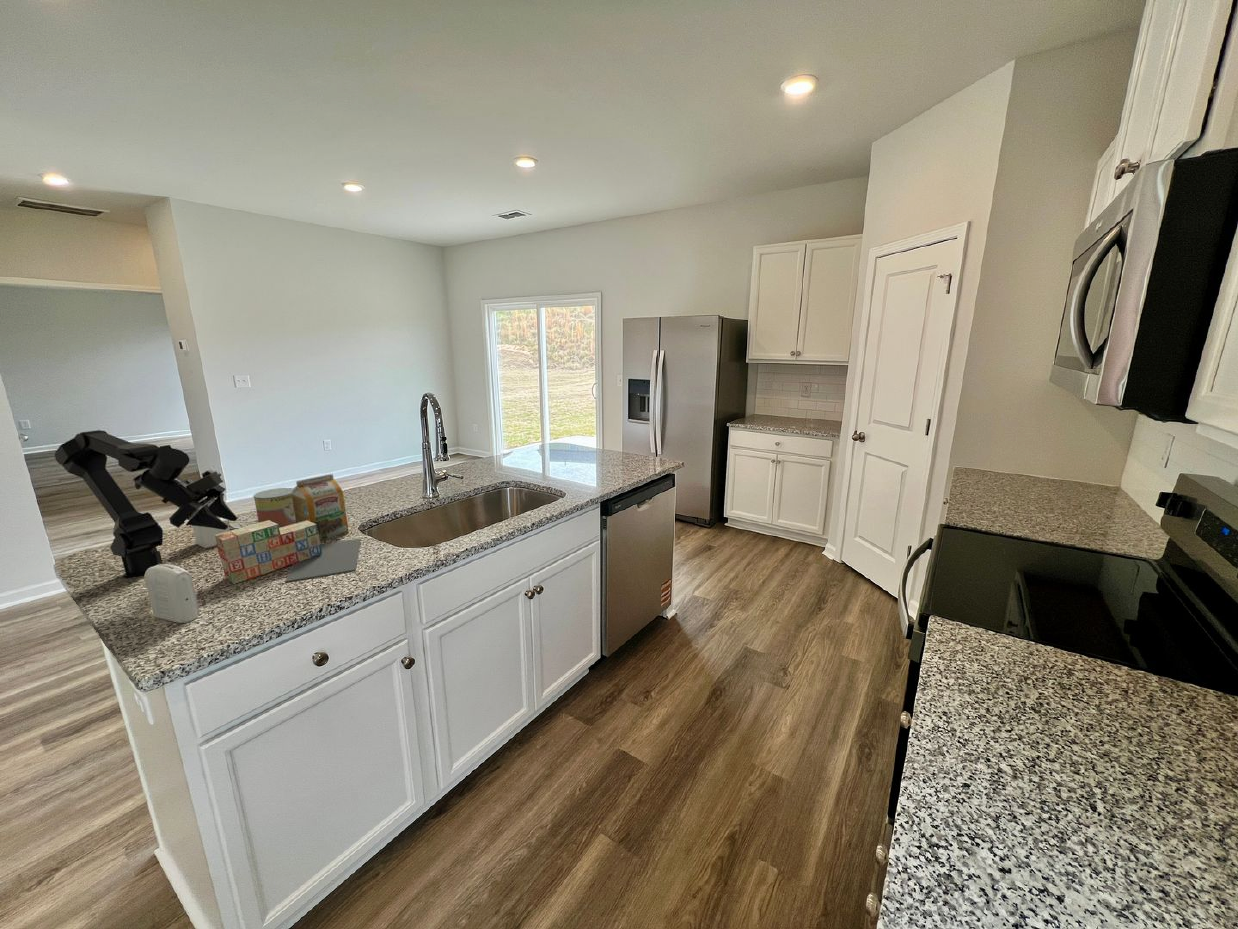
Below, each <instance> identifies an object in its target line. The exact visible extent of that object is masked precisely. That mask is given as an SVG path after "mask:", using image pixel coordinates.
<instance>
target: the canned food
mask: <svg viewBox="0 0 1238 929" xmlns="http://www.w3.org/2000/svg"><path fill="white" fill-rule="evenodd" d="M293 489H294V488H292V487H280V488H279V487H277V488H272V489H266V490H263V491H259V492H257V493H255V494H253V499H254V504H255V510H256V516H257V521H258V523H260V522H264V521H268V520H270V521H272V522H274V523H276V524H278V526H279V528H281V527H285V526H289V525H292V524H296V518H295V512H294V506H293V500H292V495H291V494H292V491H293Z"/></svg>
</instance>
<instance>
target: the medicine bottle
mask: <svg viewBox="0 0 1238 929" xmlns="http://www.w3.org/2000/svg"><path fill="white" fill-rule="evenodd" d="M216 517H217V516H216ZM217 518H219V519H220V520H221V521H223V522H224V523H225V524H226V525H228V528H227V529H225V530H223V529H216V528H210V527H202V526H193V525H191V528H192V531H193V536H194V541H195V543H196V545H198V546H200V547H202V548H204V549H208V548H211V547H215V546H218V545H217V541H216V538H215V535H216V534H220V533H223V532H227V531H231V530H232V529H231V524H230V520H227V519H223V518H220V517H217Z"/></svg>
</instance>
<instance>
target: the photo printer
mask: <svg viewBox="0 0 1238 929" xmlns="http://www.w3.org/2000/svg"><path fill="white" fill-rule="evenodd" d="M143 576H144V582H145V586H146V589H147V593H148V598H149V602H150V606H151V610H152V614H153V616H154V617H155V618H158V619H162V620H165V621H169V622H173V623H179V624H180V623H181V624H183V623H185V624H186V623H189V622H192V621H194V620H195V619H197V618H198V616H200V609H199V605H198V604H199V603H198V598H197V594H196V588H195V585H194V581H193V577H192V575H191V574H190V572H189V571H187V570H186V569H184V568H182V567H179V566H177V565H174V564H168V563H166V564H165V563H163V564H160V565H156V566H153V567H150V568H148V569H147V571H146V572H145V575H143Z"/></svg>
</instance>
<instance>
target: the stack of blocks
mask: <svg viewBox="0 0 1238 929" xmlns="http://www.w3.org/2000/svg"><path fill="white" fill-rule="evenodd" d="M215 538H216V541H217V545H216V546H217V547H216V548H217V552H218V555H219V557H220V560H221V565H222V568H223V572H224V576H225V579H227V581H229V582H230V583H232V584H233V585H234V584H237V583H241V582H243V581H246V580H250V579H253V578H257V577H259V576H261V575H262V576H263V575H265V574H268V573H272V572H274V571H276V570H278V569H282V568H285V567H287V566H292V565H293V564H294V563H297V562H300V561H303V560H306V559H309V558H312V557H315V556H318V555H321V554H322V549H321V544H322V543H321V542H320V538H319V534H318V530H317V525H316V524H314V523H312V522H310V521H303V522H300V523H297V524H292V525H289V526H285V527H281V528H279V526H278V524H276V523H274V522H272V521H270V520H268V521H264V522H260V523H259V522H257V523H254V524H249V525H247V526H243V527H239V528H236V529H231V531H227V532H223V533H220V534H216V535H215Z"/></svg>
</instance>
